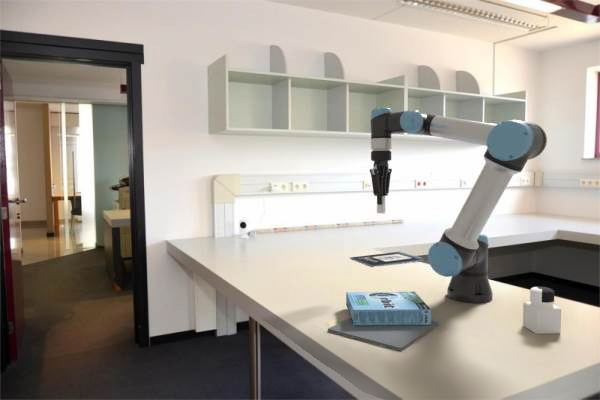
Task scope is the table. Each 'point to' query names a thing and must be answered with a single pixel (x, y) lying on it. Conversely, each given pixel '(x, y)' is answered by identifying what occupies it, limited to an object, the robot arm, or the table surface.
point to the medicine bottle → (542, 312)
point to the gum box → (387, 308)
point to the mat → (384, 333)
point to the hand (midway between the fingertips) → (381, 213)
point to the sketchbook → (387, 259)
